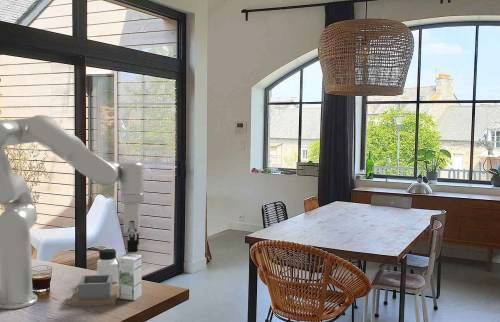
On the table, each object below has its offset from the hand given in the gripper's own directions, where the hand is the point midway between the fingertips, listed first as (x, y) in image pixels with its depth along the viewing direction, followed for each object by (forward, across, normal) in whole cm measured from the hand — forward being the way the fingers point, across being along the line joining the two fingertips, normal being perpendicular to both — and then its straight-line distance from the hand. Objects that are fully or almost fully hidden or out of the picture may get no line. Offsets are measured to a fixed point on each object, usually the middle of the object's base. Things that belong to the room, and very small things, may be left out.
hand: (133, 248), depth 168 cm
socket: (+17, -1, -13) cm, 21 cm away
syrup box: (+17, 0, -1) cm, 17 cm away
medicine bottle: (+17, -20, -11) cm, 28 cm away
